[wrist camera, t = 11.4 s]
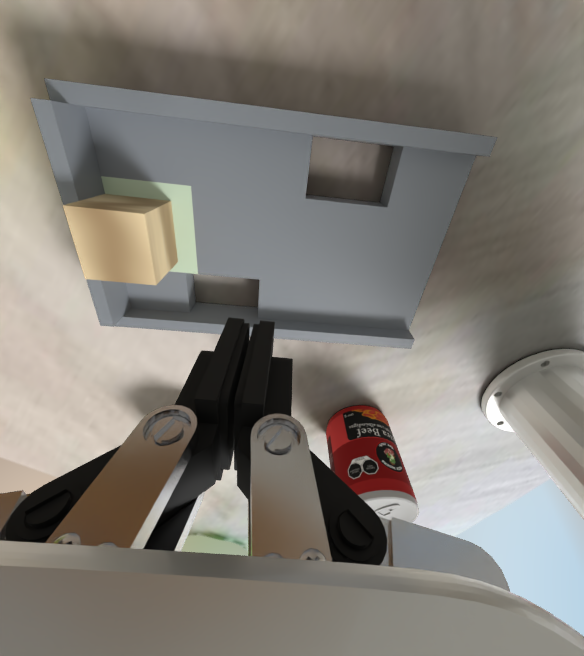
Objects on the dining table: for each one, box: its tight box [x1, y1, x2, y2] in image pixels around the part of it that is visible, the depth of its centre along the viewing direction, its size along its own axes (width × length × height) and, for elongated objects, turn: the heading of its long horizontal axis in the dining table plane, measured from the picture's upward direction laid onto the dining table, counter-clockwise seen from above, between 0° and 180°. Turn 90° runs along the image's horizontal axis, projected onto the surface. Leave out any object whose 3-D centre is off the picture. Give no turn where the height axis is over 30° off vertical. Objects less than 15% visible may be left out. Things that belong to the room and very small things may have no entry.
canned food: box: [326, 405, 419, 523], centre depth 32 cm, size 8×8×11 cm
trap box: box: [31, 78, 497, 349], centre depth 21 cm, size 26×16×5 cm, turn 84°
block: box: [63, 194, 178, 285], centre depth 19 cm, size 4×4×4 cm
